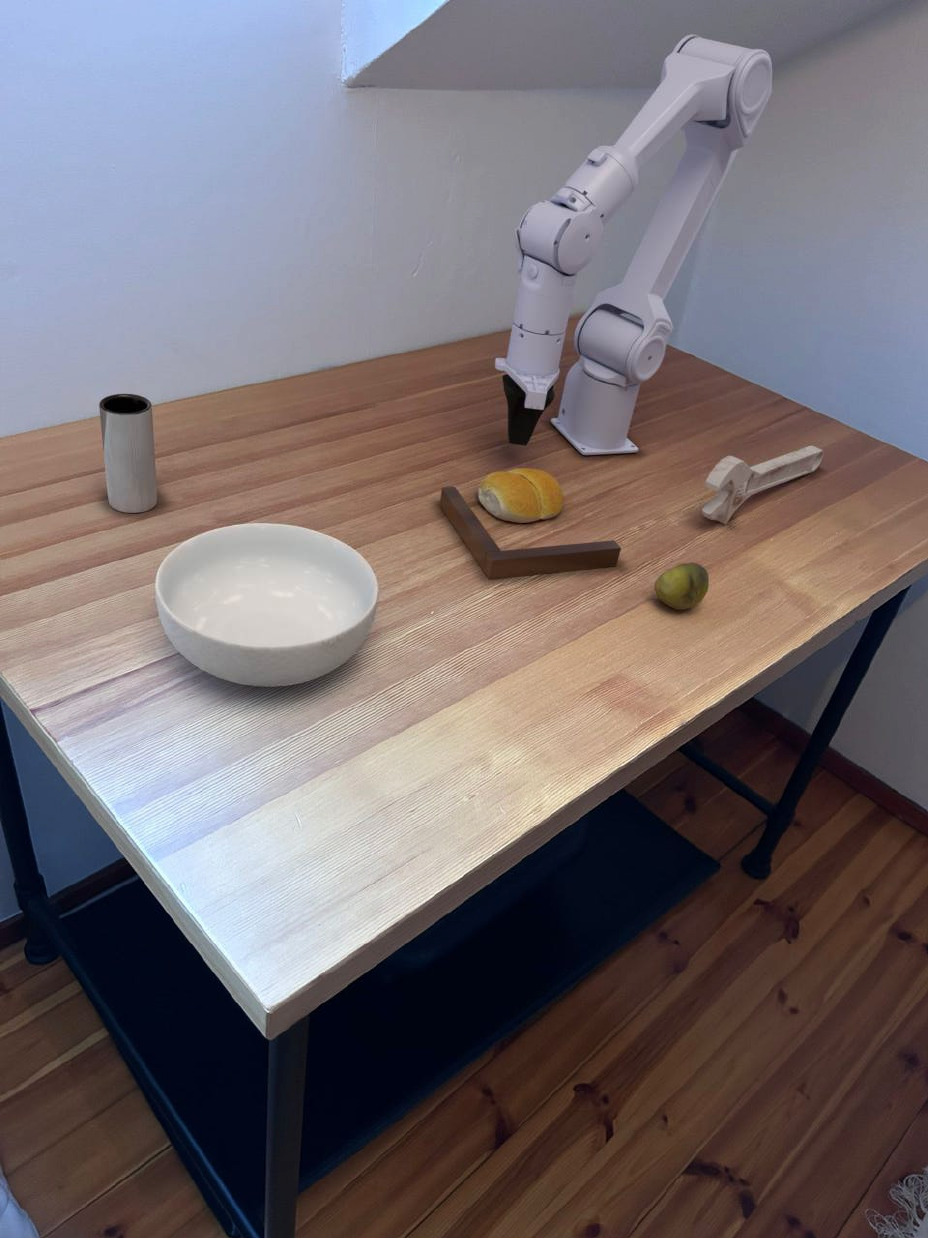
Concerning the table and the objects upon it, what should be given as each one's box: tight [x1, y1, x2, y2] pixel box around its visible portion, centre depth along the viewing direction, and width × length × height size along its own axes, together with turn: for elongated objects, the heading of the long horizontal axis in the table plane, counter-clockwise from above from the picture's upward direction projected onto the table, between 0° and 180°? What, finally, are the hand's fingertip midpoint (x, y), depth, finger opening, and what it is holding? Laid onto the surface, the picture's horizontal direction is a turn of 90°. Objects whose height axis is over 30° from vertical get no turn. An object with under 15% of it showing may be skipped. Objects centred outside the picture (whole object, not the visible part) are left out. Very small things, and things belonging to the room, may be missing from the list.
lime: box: [654, 562, 710, 610], centre depth 89 cm, size 4×5×5 cm
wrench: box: [701, 445, 825, 525], centre depth 110 cm, size 8×2×30 cm
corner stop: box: [439, 486, 622, 580], centre depth 97 cm, size 14×14×2 cm
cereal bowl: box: [154, 522, 380, 688], centre depth 75 cm, size 17×17×7 cm
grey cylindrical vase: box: [98, 393, 158, 514], centre depth 89 cm, size 4×4×10 cm
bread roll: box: [477, 467, 564, 524], centre depth 101 cm, size 8×9×4 cm
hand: (517, 442), depth 108 cm, fingers closed
